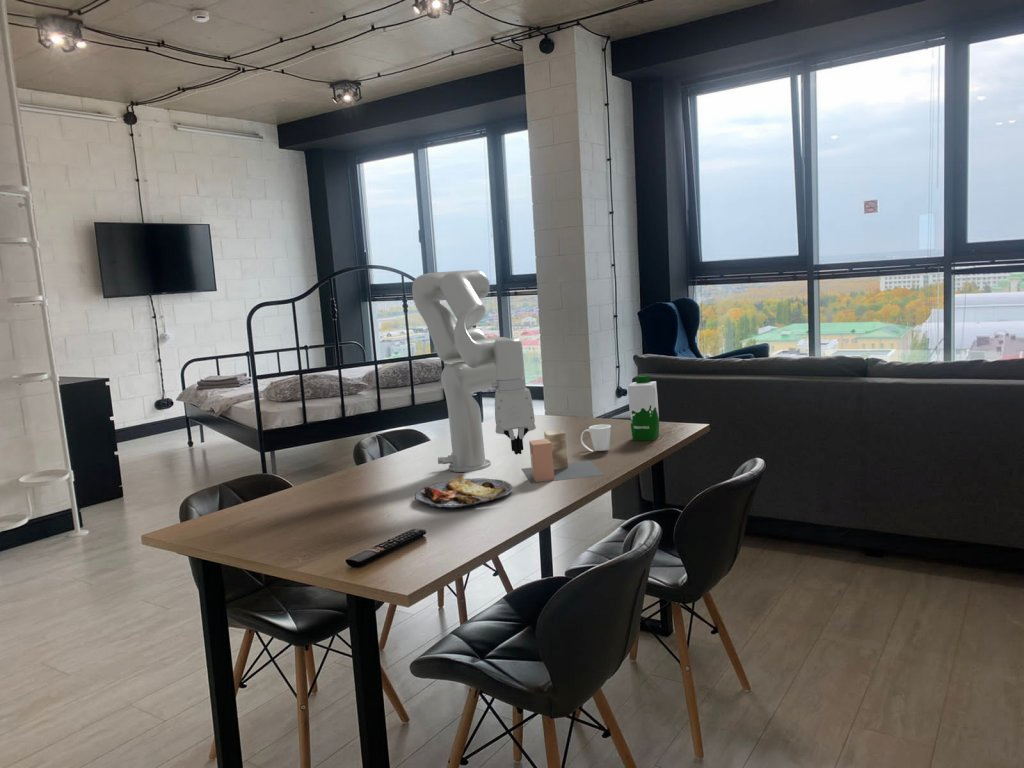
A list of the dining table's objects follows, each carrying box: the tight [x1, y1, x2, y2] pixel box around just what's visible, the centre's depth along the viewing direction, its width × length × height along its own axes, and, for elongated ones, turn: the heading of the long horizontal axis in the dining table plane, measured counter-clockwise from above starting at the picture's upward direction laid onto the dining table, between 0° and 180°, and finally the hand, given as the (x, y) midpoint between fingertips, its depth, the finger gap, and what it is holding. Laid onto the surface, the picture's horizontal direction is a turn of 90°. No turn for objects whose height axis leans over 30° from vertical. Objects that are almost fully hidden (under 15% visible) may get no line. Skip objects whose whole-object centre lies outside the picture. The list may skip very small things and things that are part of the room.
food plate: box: [414, 475, 514, 509], centre depth 196 cm, size 25×23×4 cm
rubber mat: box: [521, 460, 606, 485], centre depth 212 cm, size 20×18×1 cm
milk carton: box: [627, 374, 660, 441], centre depth 247 cm, size 9×9×20 cm
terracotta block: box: [528, 438, 554, 482], centre depth 206 cm, size 5×6×10 cm
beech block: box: [543, 429, 569, 470], centre depth 218 cm, size 5×6×10 cm
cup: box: [580, 424, 612, 452], centre depth 233 cm, size 7×10×8 cm
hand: (517, 453), depth 205 cm, fingers closed
